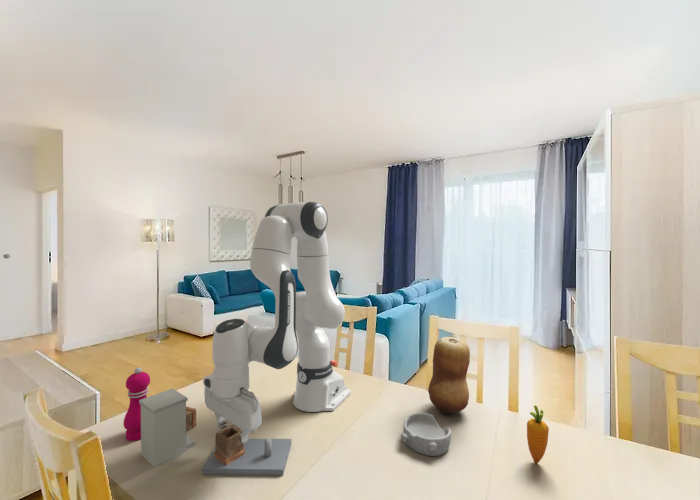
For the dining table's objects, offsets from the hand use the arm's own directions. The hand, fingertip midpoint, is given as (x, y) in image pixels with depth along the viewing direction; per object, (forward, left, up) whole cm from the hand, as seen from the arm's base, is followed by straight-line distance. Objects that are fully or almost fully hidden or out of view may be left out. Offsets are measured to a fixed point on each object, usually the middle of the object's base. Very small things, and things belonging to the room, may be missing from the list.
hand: (232, 434), depth 85 cm
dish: (-39, +37, -7) cm, 54 cm away
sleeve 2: (+1, 0, -5) cm, 5 cm away
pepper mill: (+11, -31, -7) cm, 33 cm away
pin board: (-3, +3, -7) cm, 8 cm away
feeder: (+9, -17, -7) cm, 20 cm away
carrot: (-49, +64, -7) cm, 81 cm away
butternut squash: (-60, +36, -7) cm, 70 cm away
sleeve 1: (+2, -24, -7) cm, 25 cm away
